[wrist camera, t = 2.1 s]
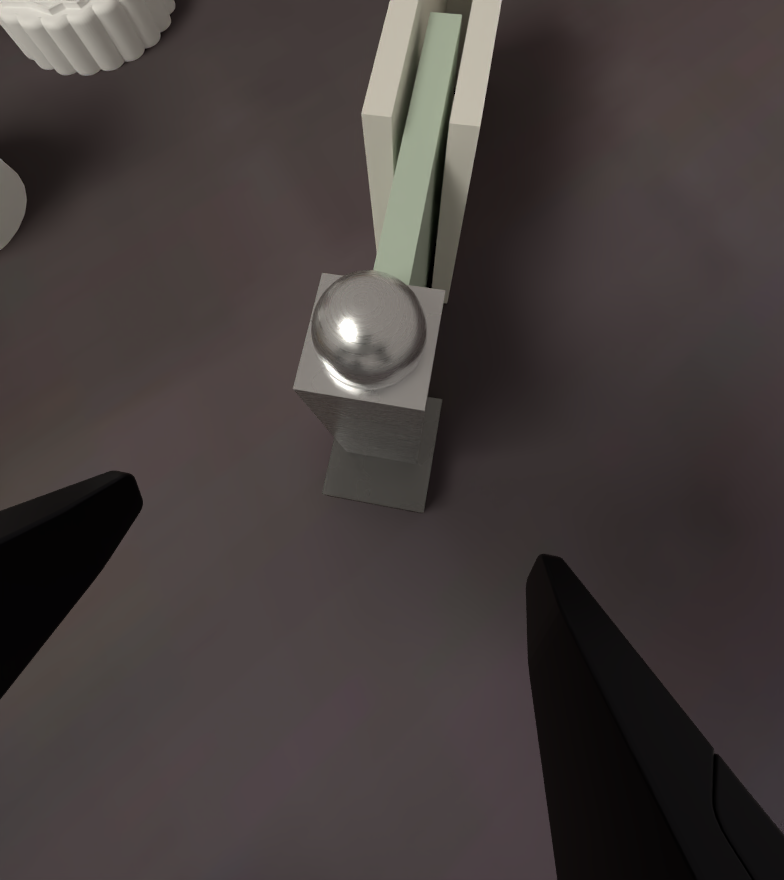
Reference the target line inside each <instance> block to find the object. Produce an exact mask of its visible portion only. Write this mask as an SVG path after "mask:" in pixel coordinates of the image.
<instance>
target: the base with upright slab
mask: <svg viewBox="0 0 784 880" xmlns="http://www.w3.org/2000/svg"><path fill="white" fill-rule="evenodd" d="M26 203H27V197H26V191H25V186H24V184H23V182H22V180H21V179H20V177H19V175H18V174H17V173H16V172H15V171H14V170H13V169H12V168H11V167H9V166H8V165H7V164H6V163H5V162H4V161H3V160H2V159H0V250H1V249H2V248H4V247H5V246H6V245H7V244H8V243H9V241H10V240H11V239H12V237H13V236H14V235H15V233H16V232H17V231H18V229H19V227H20V224H21V222H22V220H23V218H24V215H25V210H26Z"/></svg>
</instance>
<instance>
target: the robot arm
mask: <svg viewBox="0 0 784 880" xmlns="http://www.w3.org/2000/svg"><path fill="white" fill-rule="evenodd" d="M142 506H143V499H142V496H141V494H140V491H139V488H138V485H137V482H136V480H135V477H134V476H133V475H132V474H130V473H125V472H120V471H109V472H106V473H104V474H101V475H98V476H95V477H92V478H90V479H87V480H84V481H81V482H79V483H76V484H73V485H70V486H68V487H65V488H62V489H59V490H57V491H54V492H51V493H48V494H46V495H43V496H40V497H37V498H35V499H32V500H29V501H26V502H23V503H21V504H18V505H15V506H12V507H10V508H7V509H4V510H1V511H0V699H1V698H2V697H3V695H4V694H5V693H6V691H7V690H8V689H9V688H10V686H11V685H12V684H13V683H14V681H15V680H16V679H17V678H18V676H19V675H20V674H21V672H22V671H23V670H24V669H25V667H26V666H27V665H28V664H29V662H30V661H31V660H32V659H33V657H34V656H35V655H36V653H37V652H38V651H39V650H40V648H41V647H42V646H43V645H44V643H45V642H46V641H47V640H48V638H49V637H50V636H51V635H52V633H53V632H54V631H55V629H56V628H57V627H58V626H59V624H60V623H61V622H62V621H63V619H64V618H65V617H66V616H67V614H68V613H69V612H70V610H71V609H72V608H73V607H74V605H75V604H76V603H77V602H78V600H79V599H80V598H81V597H82V595H83V594H84V593H85V591H86V590H87V589H88V588H89V586H90V585H91V584H92V583H93V581H94V580H95V579H96V577H97V576H98V575H99V573H100V572H101V571H102V569H103V568H104V566H105V565H106V563H107V562H108V561H109V559H110V557H111V556H112V554H113V553H114V551H115V550H116V548H117V547H118V545H119V544H120V542H121V541H122V539H123V537H124V536H125V534H126V533H127V531H128V530H129V528H130V527H131V525H132V524H133V522H134V521H135V519H136V517H137V516H138V514H139V513H140V511H141V509H142ZM526 610H527V648H528V666H529V675H530V683H531V690H532V697H533V705H534V712H535V719H536V726H537V734H538V741H539V748H540V756H541V763H542V770H543V778H544V785H545V792H546V800H547V807H548V814H549V822H550V829H551V836H552V844H553V851H554V858H555V866H556V873H557V880H784V834H783V833H782V832H781V831H780V830H779V828H778V827H777V826H776V825H775V823H774V822H773V821H772V820H771V819H770V817H769V816H768V815H767V814H766V812H765V811H764V810H763V809H762V808H761V806H760V805H759V804H758V803H757V802H756V800H755V799H754V798H753V797H752V795H751V794H750V793H749V792H748V791H747V789H746V788H745V787H744V786H743V784H742V783H741V782H740V781H739V779H738V778H737V777H736V776H735V774H734V773H733V772H732V771H731V769H730V768H729V767H728V766H727V764H726V763H725V762H724V761H723V759H722V758H721V757H720V756H719V755H718V754H714V749H713V747H712V746H711V745H710V743H709V742H708V741H707V739H706V738H705V737H704V736H703V734H702V733H701V732H700V731H699V729H698V728H697V727H696V726H695V724H694V723H693V722H692V721H691V719H690V718H689V717H688V716H687V714H686V713H685V712H684V711H683V709H682V708H681V707H680V706H679V704H678V703H677V702H676V701H675V699H674V698H673V697H672V696H671V694H670V693H669V692H668V690H667V689H666V688H665V687H664V685H663V684H662V683H661V682H660V680H659V679H658V678H657V677H656V675H655V674H654V673H653V672H652V670H651V669H650V668H649V667H648V665H647V664H646V663H645V662H644V660H643V659H642V658H641V657H640V655H639V654H638V653H637V652H636V650H635V649H634V648H633V647H632V645H631V644H630V643H629V641H628V640H627V639H626V638H625V636H624V635H623V634H622V633H621V631H620V630H619V629H618V628H617V626H616V625H615V624H614V623H613V621H612V620H611V619H610V618H609V616H608V615H607V614H606V613H605V611H604V610H603V609H602V608H601V606H600V605H599V604H598V603H597V601H596V600H595V599H594V597H593V596H592V595H591V594H590V592H589V591H588V590H587V589H586V587H585V586H584V585H583V584H582V582H581V581H580V580H579V579H578V577H577V576H576V575H575V574H574V572H573V571H572V570H571V569H570V567H569V566H568V565H567V564H566V562H565V561H564V560H563V559H562V558H560V557H558V556H553V555H547V554H540V555H539V556H538V558H537V559H536V562H535V564H534V566H533V568H532V570H531V572H530V574H529V576H528V579H527V583H526Z"/></svg>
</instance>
